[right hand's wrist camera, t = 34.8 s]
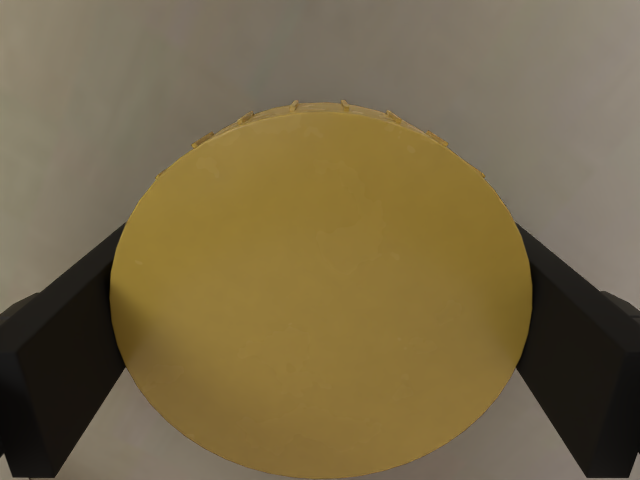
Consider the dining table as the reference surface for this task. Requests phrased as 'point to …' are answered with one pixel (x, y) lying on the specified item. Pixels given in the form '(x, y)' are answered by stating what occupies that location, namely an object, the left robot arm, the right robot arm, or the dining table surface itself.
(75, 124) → the dining table surface
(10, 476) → the jar
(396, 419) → the lid
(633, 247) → the dining table surface
